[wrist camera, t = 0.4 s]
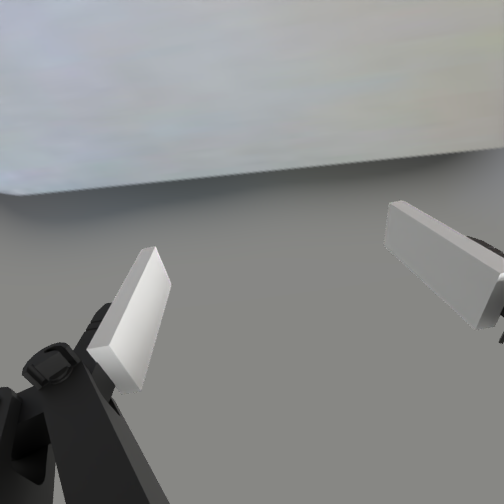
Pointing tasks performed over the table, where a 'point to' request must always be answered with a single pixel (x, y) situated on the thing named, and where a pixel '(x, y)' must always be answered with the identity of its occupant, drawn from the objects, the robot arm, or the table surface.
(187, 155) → the table surface
